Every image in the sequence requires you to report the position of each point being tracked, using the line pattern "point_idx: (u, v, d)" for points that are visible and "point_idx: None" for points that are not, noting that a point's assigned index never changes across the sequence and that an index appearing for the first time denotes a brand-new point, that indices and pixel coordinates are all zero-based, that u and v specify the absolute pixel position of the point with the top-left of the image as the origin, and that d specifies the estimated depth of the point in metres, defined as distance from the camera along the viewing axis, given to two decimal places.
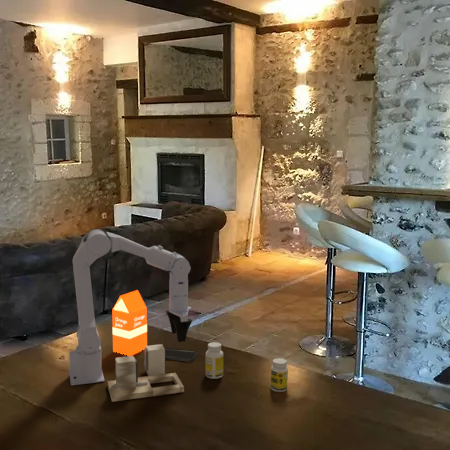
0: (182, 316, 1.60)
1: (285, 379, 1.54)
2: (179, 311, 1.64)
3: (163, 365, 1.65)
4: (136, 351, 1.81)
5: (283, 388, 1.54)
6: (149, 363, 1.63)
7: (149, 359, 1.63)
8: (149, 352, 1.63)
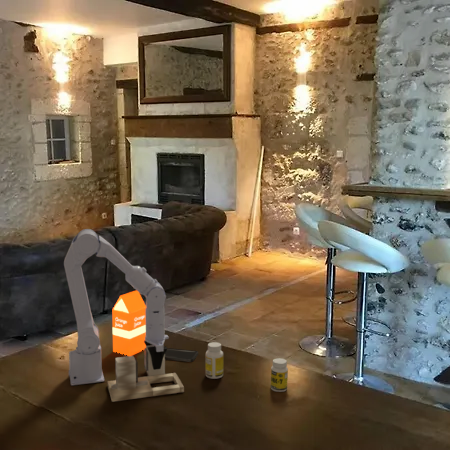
0: (158, 346, 1.58)
1: (285, 379, 1.54)
2: (155, 340, 1.62)
3: (163, 365, 1.65)
4: (136, 351, 1.81)
5: (283, 388, 1.54)
6: (149, 363, 1.63)
7: (149, 359, 1.63)
8: (149, 352, 1.63)
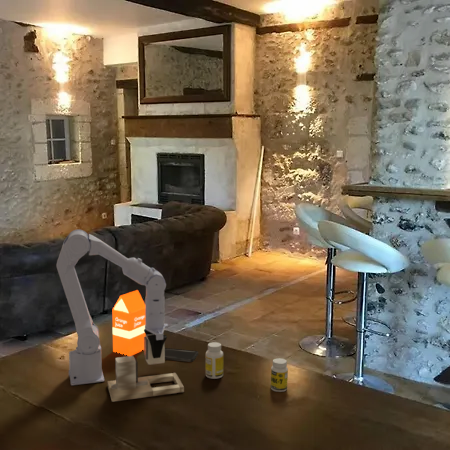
0: (157, 334, 1.57)
1: (285, 379, 1.54)
2: (155, 329, 1.61)
3: (163, 354, 1.64)
4: (136, 351, 1.81)
5: (283, 388, 1.54)
6: (149, 352, 1.63)
7: (149, 348, 1.62)
8: None
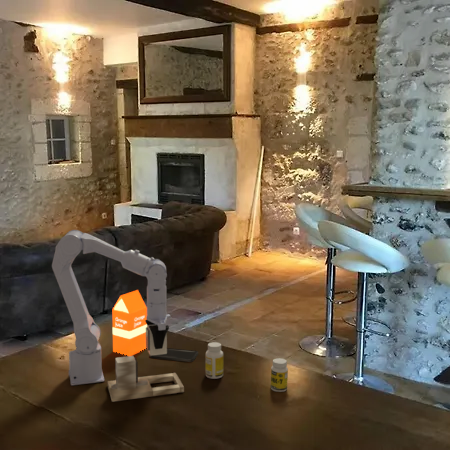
0: (160, 324, 1.54)
1: (285, 379, 1.54)
2: (157, 319, 1.58)
3: (165, 344, 1.61)
4: (136, 351, 1.81)
5: (283, 388, 1.54)
6: (151, 342, 1.60)
7: (151, 338, 1.59)
8: None
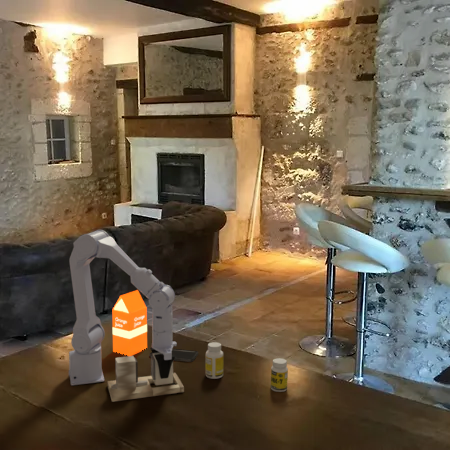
0: (165, 354, 1.48)
1: (285, 379, 1.54)
2: (163, 347, 1.52)
3: (171, 374, 1.55)
4: (136, 351, 1.81)
5: (283, 388, 1.54)
6: (156, 372, 1.53)
7: (156, 367, 1.53)
8: (156, 360, 1.53)
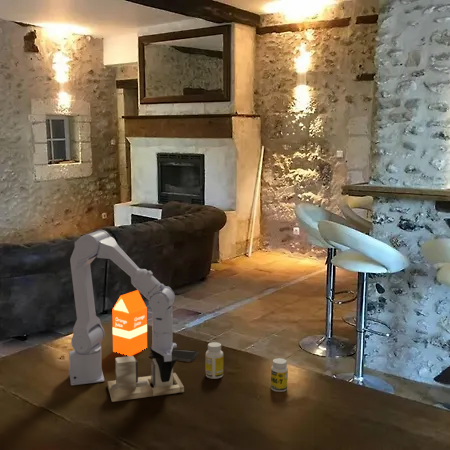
0: (165, 355, 1.48)
1: (285, 379, 1.54)
2: (163, 349, 1.52)
3: (171, 379, 1.55)
4: (136, 351, 1.81)
5: (283, 388, 1.54)
6: (156, 377, 1.53)
7: (156, 373, 1.53)
8: (156, 365, 1.53)
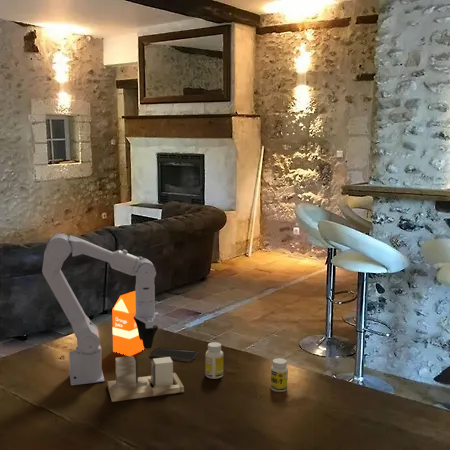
0: (147, 322, 1.56)
1: (285, 379, 1.54)
2: (145, 317, 1.60)
3: (171, 379, 1.55)
4: (136, 351, 1.81)
5: (283, 388, 1.54)
6: (156, 377, 1.53)
7: (156, 373, 1.53)
8: (156, 366, 1.53)
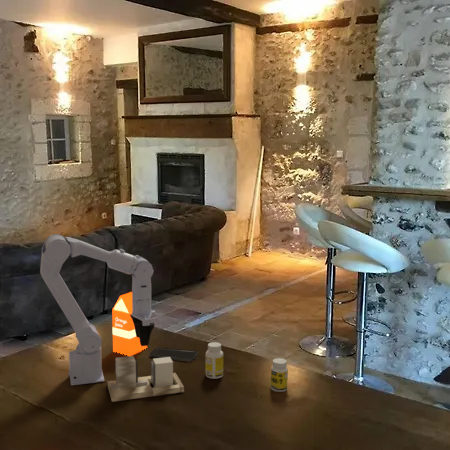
0: (144, 320, 1.58)
1: (285, 379, 1.54)
2: (142, 315, 1.62)
3: (171, 379, 1.55)
4: (136, 351, 1.81)
5: (283, 388, 1.54)
6: (156, 377, 1.53)
7: (156, 373, 1.53)
8: (156, 366, 1.53)
